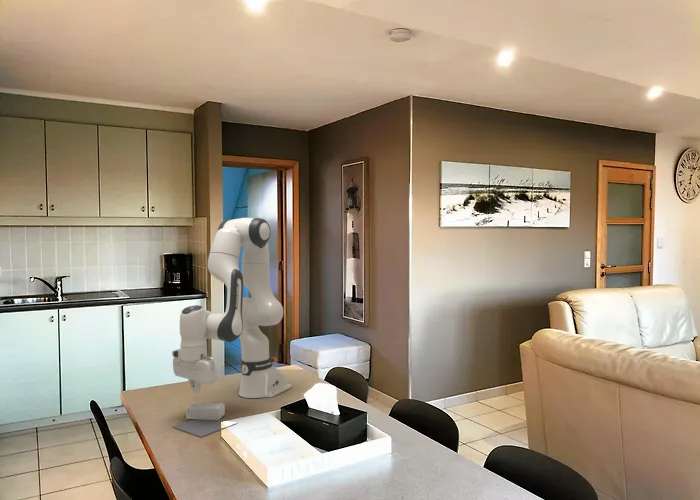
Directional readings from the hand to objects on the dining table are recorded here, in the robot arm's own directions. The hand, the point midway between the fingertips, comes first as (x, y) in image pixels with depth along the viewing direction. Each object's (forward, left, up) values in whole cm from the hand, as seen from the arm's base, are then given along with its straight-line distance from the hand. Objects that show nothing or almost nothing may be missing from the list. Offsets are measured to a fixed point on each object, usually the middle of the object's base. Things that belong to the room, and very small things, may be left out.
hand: (195, 391), depth 186 cm
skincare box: (-1, -5, -8) cm, 9 cm away
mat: (+1, +7, -10) cm, 12 cm away
